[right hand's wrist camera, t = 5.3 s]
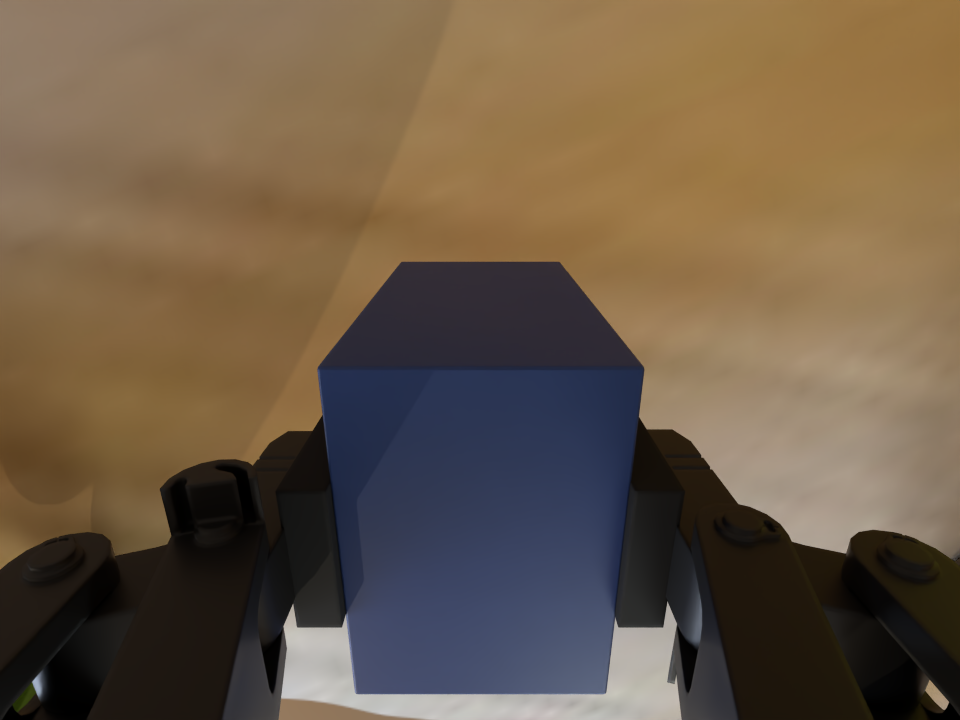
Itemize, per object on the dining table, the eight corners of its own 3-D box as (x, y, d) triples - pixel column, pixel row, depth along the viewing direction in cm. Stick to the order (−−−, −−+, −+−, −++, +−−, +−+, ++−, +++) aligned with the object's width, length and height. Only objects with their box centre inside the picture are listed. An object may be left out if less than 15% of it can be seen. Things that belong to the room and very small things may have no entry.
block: (400, 261, 15) (315, 367, 7) (560, 261, 15) (646, 367, 7) (410, 456, 18) (354, 695, 10) (549, 456, 18) (606, 695, 10)
